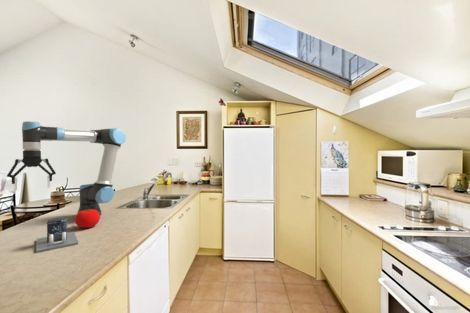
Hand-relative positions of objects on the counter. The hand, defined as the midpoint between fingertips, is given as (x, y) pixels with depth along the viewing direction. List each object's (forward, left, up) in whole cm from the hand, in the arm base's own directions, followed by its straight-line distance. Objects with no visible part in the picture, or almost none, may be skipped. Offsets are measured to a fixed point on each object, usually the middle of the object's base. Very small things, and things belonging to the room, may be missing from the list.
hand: (32, 188), depth 129 cm
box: (-10, +21, -25) cm, 34 cm away
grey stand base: (-9, +21, -26) cm, 35 cm away
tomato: (-25, +2, -26) cm, 36 cm away
